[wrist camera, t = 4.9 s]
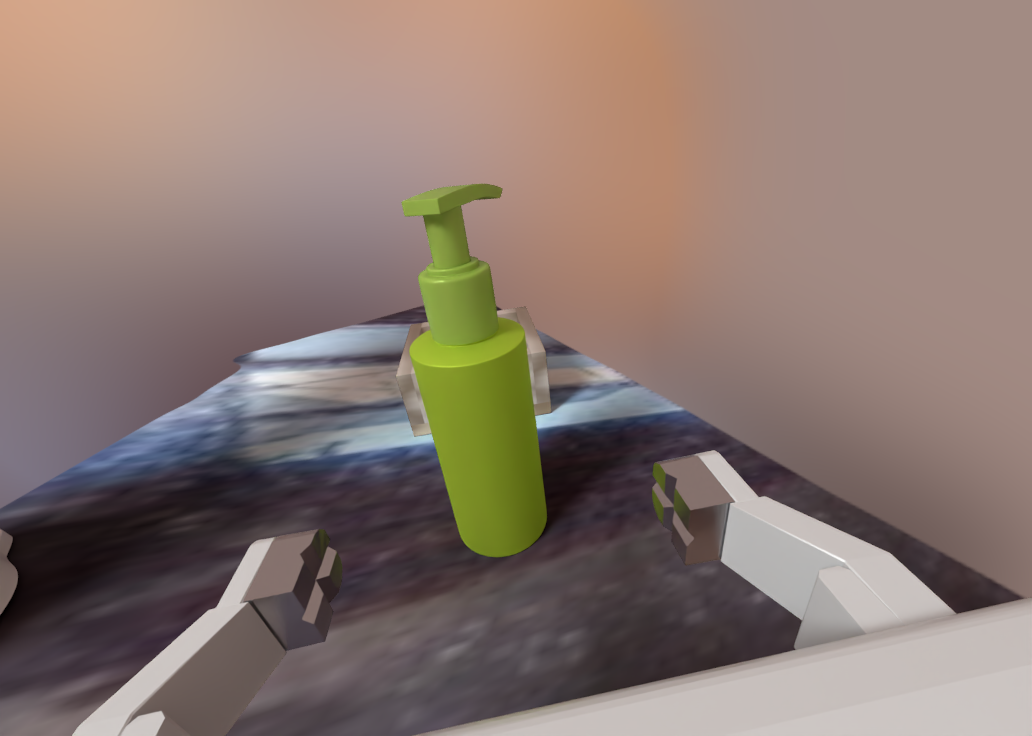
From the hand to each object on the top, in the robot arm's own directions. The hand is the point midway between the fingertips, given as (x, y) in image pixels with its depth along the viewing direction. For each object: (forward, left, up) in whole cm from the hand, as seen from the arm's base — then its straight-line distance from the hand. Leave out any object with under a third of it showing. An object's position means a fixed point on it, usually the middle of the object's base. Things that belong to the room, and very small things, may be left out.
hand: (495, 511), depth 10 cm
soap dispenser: (0, +12, -14) cm, 18 cm away
